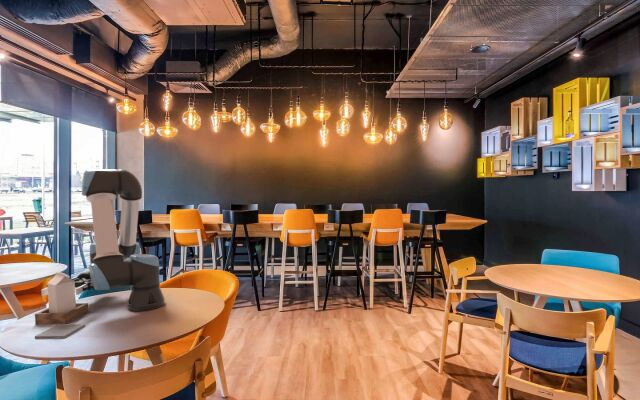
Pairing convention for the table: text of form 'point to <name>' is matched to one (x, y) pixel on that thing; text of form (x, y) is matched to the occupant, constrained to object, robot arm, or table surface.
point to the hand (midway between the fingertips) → (59, 292)
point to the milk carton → (61, 294)
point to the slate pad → (60, 331)
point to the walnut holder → (61, 315)
